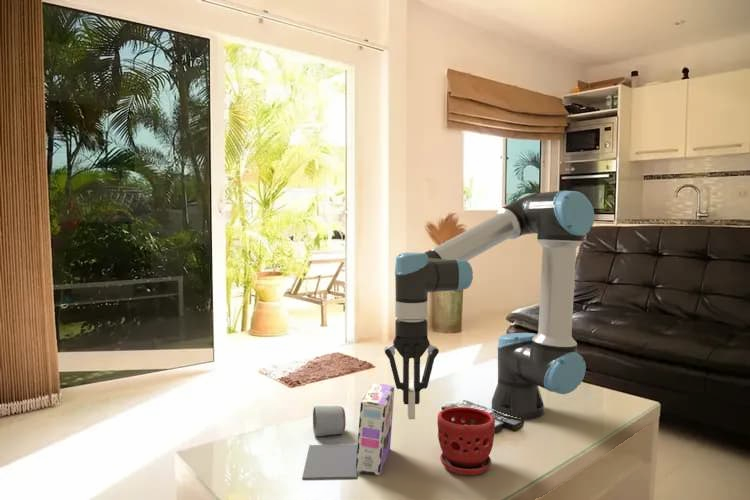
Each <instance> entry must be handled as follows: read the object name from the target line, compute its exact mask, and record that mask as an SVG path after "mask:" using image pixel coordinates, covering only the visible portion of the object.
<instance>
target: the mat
mask: <svg viewBox="0 0 750 500" xmlns="http://www.w3.org/2000/svg"><path fill="white" fill-rule="evenodd" d="M357 446H358V443H356V444H353V443H351V444H349V443H348V444H309V446H308V451H307V456H306V459H305V464H304V469H303V472H302V478H301V479H302V480H333V479H334V480H338V479H340V480H341V479H343V480H344V479H345V480H346V479H358V477H357V472H358V471H356V459H357Z"/></svg>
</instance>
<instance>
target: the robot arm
mask: <svg viewBox="0 0 750 500" xmlns="http://www.w3.org/2000/svg"><path fill="white" fill-rule="evenodd" d="M594 223H595V210H594V207H593V205H592V203H591V201H590V200H589V198H588V197H587V196H586V195H585V194H583V193H582V192H581V191H577V190H558V191H547V192H533V193H531V194H527V195H525V196H523V197H521V198H519V199H517V200H515V201H513V202H511V203H508V204H507V205H505V206H503V207H501V208H499V209H498V210H496V212H495V215H493V216H491V217H489V218H488V219H486V220H484V221H483V222H481V223H478V224H477V225H475V226H472V227H471V228H469V229H467V230H465V231H464V232H462V233H460V234H458V235H455V236H454V237H452V238H450V239H448V240H446V241H444V242H442V243H441V244H438V245H437V246H435V247H433V248H431V249H429V250H427V251H424V252H401V253H398V254H397V256H396V257H395V268H394V276H395V279H394V280H395V310H394V311H395V317H396V320H394V321H395V323H394V324H395V328H394V329H395V330H394V331H395V333H394V335H395V337H394V340H393V342H392V344H391V345H389V346H385V347H384V349H383V350H384V354H385V355H386V357H387V358H388V359H389V364H390V367H391V372H392V376H393V379H394V384H395V385H394V386H395V387H396V389H397V390H401V391H402V402H403V405H407V418H408V420H416V405H419V404H420V402H421V401H420V400H421V398H420V396H421V395H420V393H421V390H423V389H424V390H425V389H427V388H428V386H429V383H430V378H431V375H432V370H433V366H434V363H435V358H436V357H437V355H438V354H439V352H440V350H439V349H438V347H437V346H434V345H432V343H430V340H429V338H428V320H427V318H428V309H429V308H428V296H429V295H428V294H429V293H435V292H451V291H452V292H457V291H463V290H466V289H468V288H469V287H471V285H472V282H473V281H474V279H473V278H474V276H473V275H474V270H473V268H472V266H471V263H470V262H469V261H470V260H473V259H474V258H475V257H477V256H479V255H481V254H483V253H485V252H487V251H488V250H490V249H491V248H494V247H495V246H497V245H499V244H501V243H503V242H505V241H506V240H508V239H509V240H516V239H518V238H519V237H521V236H524V235H525V236H526V235H531V234H537V236H536V237H537V242H538V243H539V244H540V246H541V247H542V255H541V272H540V273H541V274H540V291H539V293H540V294H539V308H538V309H539V313H538V328H537V329H538V330H537V333H533V332H514V333H513V332H512V333H505V334H502V335H500V336H499V338H498V342H497V343H498V344H497V345H498V346H497V384H496V387H495V391H494V394H493V396H492V399H491V409H494V410H496V411H498V412H501V413H504V414H507V415H510V416H513V417H517V418H521V419H520V420H535V419H537V418H541V417H542V416H543V415H544V414H545V404H544V401H543V397H542V394H541V391H540V388H541V389H542V388H543V389H545V390H546V391H548V392H552V393H556V394H559V395H567V394H569V393H572V392H574V391H575V390H576V389H577V388H578V387H579V386H580V385H581V384H582V382H583V380H584V377H585V374H586V372H587V371H586V369H587V366H586V361H585V360H584V357H583V356H582V355H580V354H579V353H578V352H577V350H578V343H577V341H576V340H575V338H573V336H572V334H573V332H572V330H573V316H574V315H573V313H574V297H575V279H576V278H575V276H576V275H575V274H576V259H577V248H578V247H579V246H580V245H581V244H583V242H584V235H586V234H588V233H589V232H590V231H591V228H592V227H593V226H594ZM395 350H396V351H397V352H398V354H399V355H400V356H401V357H402V382H401V379H400V376H399V371H398V367H397V365H396V360H395V354H396V351H395ZM426 351H427V358H426V361H425V364H424V365H425V367H424V370H423V374H422V378H421V357H422V356H423V355H424V353H425V352H426ZM410 359H413V387H412V388H411V387H410ZM539 387H540V388H539Z"/></svg>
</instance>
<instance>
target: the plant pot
mask: <svg viewBox="0 0 750 500" xmlns="http://www.w3.org/2000/svg"><path fill="white" fill-rule="evenodd" d="M453 418H454V419H453ZM452 419H453V420H452ZM462 420H464V421H462ZM471 421H474V424H472V423H471ZM495 422H496V421H495V417H494V416H493V414H491V413H490V412H488V411H485V410H483V409H480V408H474V407H466V406H465V407H464V406H456V407H447V408H444V409H442V410H441V411H439V412H438V413H437V439H438V443H439V447H440V450H441V452H442V453H441V454H440V456H439V457H440V462H441V464H442V465H443V467H445V468H446V469H447V470H449V471H451V472H453V473H455V474H457V475H464V476H465V475H467V476H474V475H478V474H479V475H480V474H481V473H484V472H486V471H487V470H488V469H489V468H490V467H491V464H492V458H491V457H490V454H491V452H492V449H493V446H494V440H495V429H496V427H495V425H496V423H495Z"/></svg>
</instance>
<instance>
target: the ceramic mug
mask: <svg viewBox="0 0 750 500" xmlns="http://www.w3.org/2000/svg"><path fill="white" fill-rule="evenodd" d="M346 421H347V420H346V410H345V408H344V407H343V406H341V405H315V406H314V407H313V411H312V428H313V429H312V430H313V436H314V437H325V436H331V435H332V436H333V435H341V434H342V433H344V432H345V430H346Z"/></svg>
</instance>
